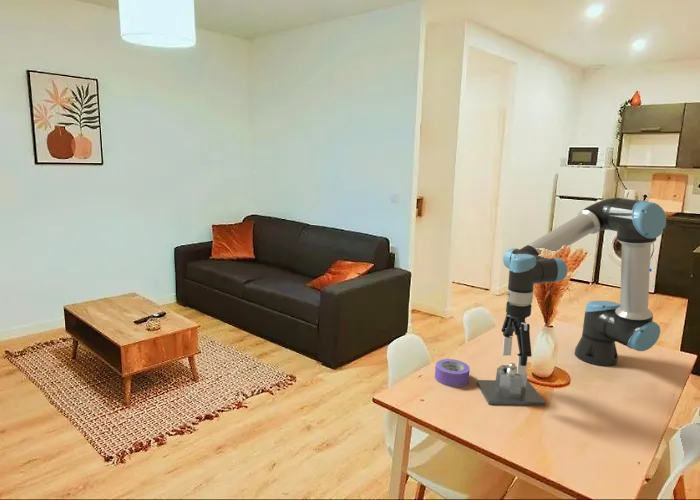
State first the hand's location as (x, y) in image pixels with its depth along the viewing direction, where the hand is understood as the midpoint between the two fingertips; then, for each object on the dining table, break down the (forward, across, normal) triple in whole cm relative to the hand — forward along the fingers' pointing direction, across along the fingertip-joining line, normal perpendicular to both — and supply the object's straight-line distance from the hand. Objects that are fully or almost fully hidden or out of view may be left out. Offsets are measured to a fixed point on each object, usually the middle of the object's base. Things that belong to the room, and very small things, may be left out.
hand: (513, 364), depth 154 cm
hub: (+9, 0, 0) cm, 9 cm away
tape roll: (+11, -10, -18) cm, 23 cm away
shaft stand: (+11, 0, -1) cm, 11 cm away
